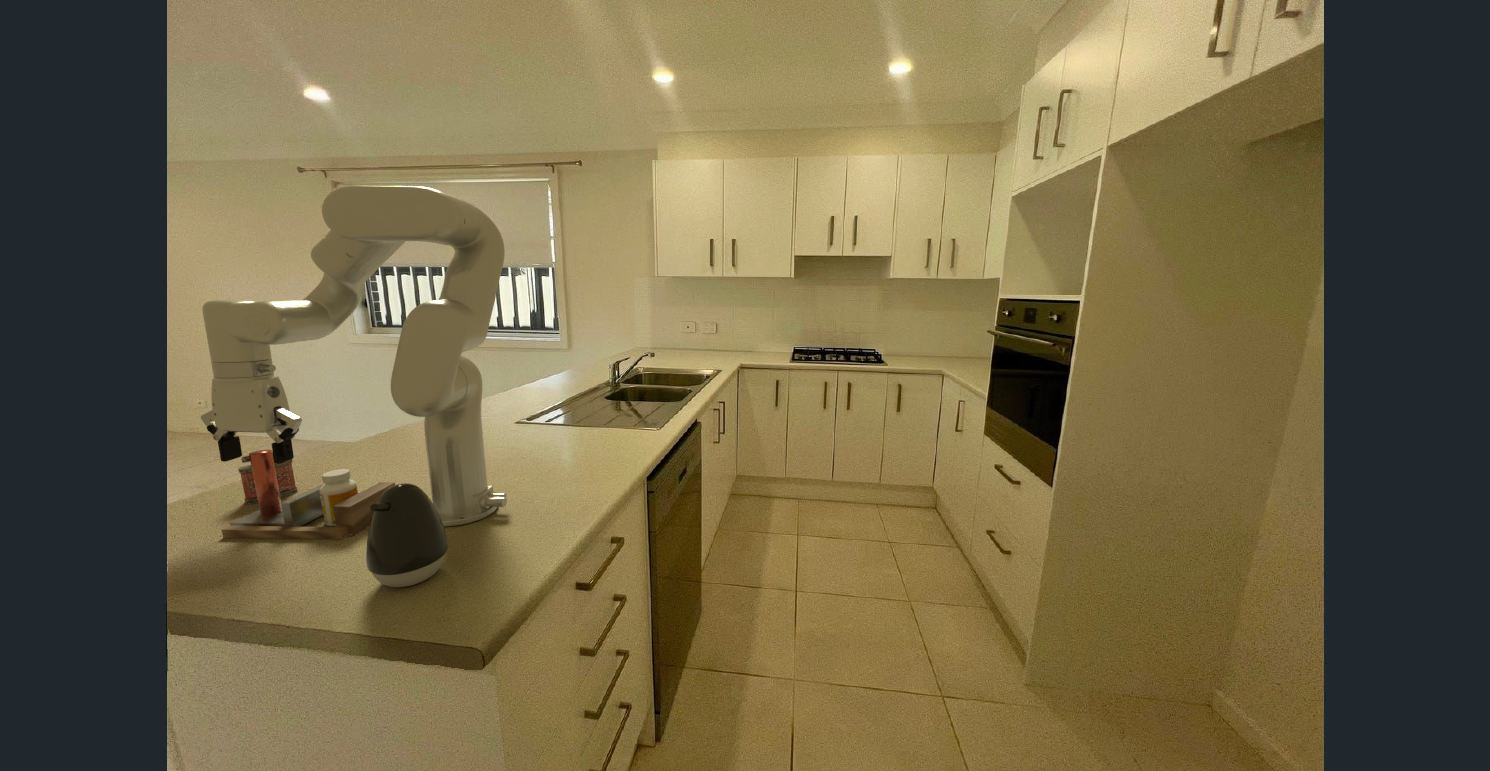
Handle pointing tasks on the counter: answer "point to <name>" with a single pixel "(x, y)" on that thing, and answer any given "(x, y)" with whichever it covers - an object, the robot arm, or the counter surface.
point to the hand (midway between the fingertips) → (258, 460)
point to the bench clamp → (348, 522)
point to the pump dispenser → (405, 537)
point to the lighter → (283, 479)
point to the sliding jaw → (278, 498)
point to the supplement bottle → (335, 492)
